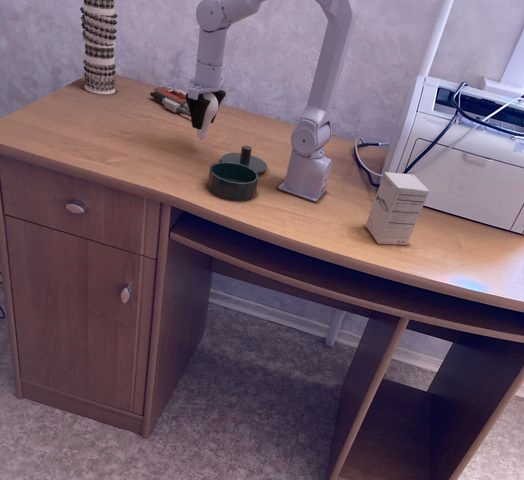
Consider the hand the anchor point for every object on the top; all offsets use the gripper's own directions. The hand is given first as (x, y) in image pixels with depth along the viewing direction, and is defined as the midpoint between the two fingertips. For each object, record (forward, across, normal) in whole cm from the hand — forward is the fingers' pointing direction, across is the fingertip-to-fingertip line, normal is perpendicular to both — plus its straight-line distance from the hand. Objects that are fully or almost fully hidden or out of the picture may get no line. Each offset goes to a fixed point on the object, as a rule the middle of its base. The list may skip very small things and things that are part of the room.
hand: (203, 124), depth 125 cm
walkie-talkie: (+6, -23, -18) cm, 30 cm away
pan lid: (+6, 0, +12) cm, 13 cm away
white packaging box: (+7, +10, +50) cm, 51 cm away
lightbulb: (+4, 0, 0) cm, 4 cm away
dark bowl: (+6, +14, +15) cm, 21 cm away
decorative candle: (+6, -18, -41) cm, 45 cm away
